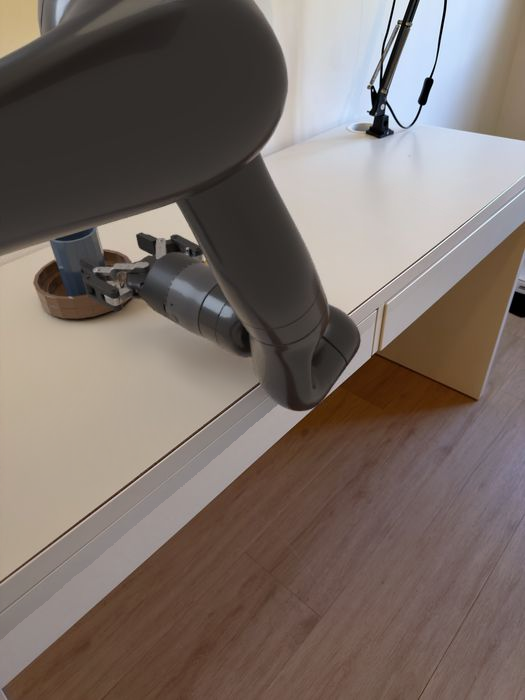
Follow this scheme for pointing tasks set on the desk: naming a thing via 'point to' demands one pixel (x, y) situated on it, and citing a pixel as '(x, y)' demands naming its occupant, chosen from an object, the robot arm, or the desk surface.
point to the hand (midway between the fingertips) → (112, 251)
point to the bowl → (55, 294)
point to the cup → (77, 258)
